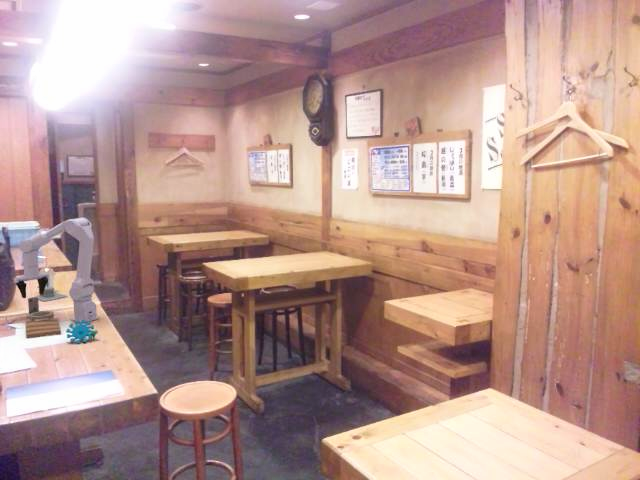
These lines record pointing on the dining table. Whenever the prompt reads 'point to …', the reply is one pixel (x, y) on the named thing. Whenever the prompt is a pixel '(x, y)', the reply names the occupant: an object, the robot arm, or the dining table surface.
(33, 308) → the hinge pin
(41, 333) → the brown piece
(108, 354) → the dining table surface
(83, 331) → the gear
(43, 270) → the cup with straw
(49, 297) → the shower valve
